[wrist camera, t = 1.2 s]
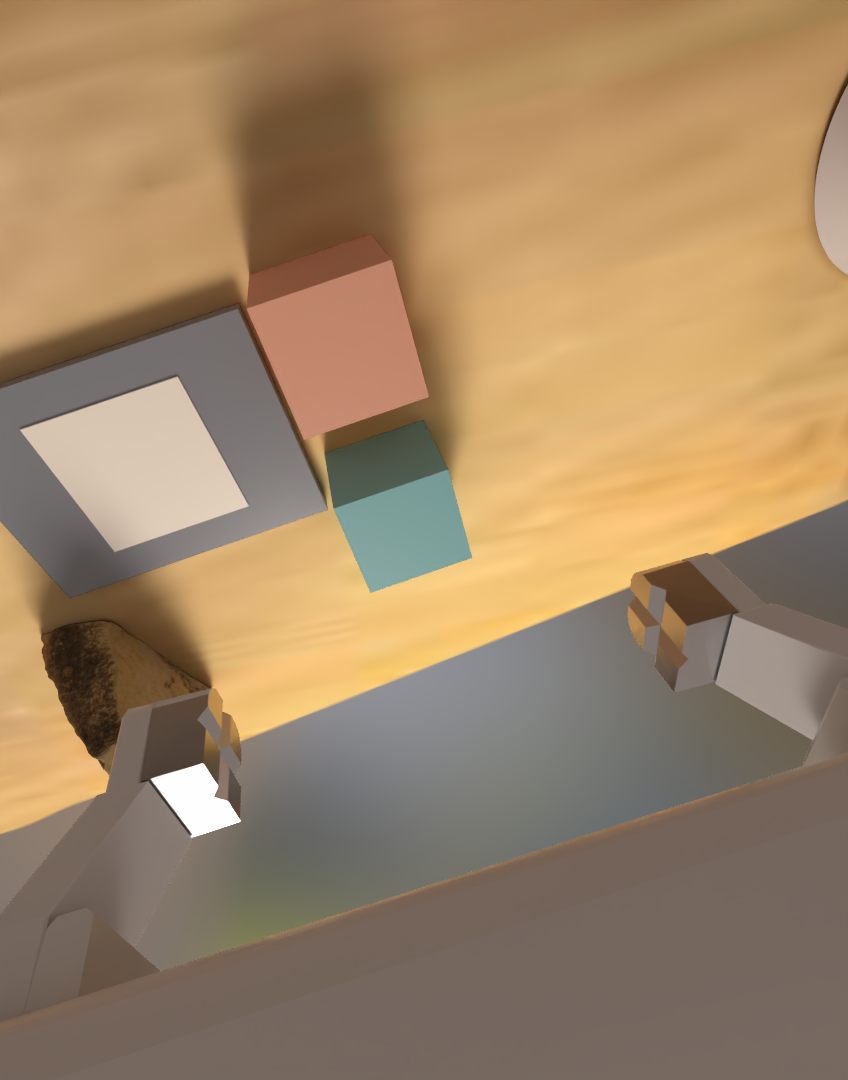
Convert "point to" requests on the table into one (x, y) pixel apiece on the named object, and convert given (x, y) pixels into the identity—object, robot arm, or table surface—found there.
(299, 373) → the terracotta block
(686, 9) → the table surface
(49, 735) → the table surface
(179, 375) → the grey flat plate
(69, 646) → the rock
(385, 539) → the teal block
